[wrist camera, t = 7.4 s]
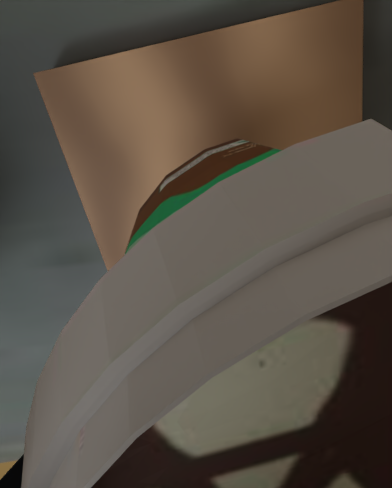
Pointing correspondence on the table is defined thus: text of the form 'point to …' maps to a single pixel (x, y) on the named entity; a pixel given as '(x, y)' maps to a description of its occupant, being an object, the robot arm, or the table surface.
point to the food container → (235, 331)
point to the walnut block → (200, 104)
